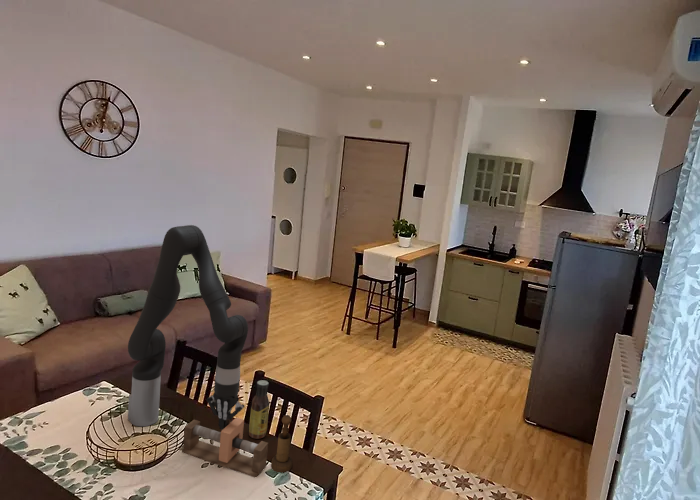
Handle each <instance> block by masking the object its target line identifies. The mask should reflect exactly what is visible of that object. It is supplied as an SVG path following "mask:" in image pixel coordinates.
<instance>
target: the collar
mask: <svg viewBox="0 0 700 500" xmlns="http://www.w3.org/2000/svg"><path fill="white" fill-rule="evenodd" d="M244 424H245V419H243V418H239V417H235V418H234V419H232V421H230V422H229V425H227V426H226V427H225V428H224V429H223V430H222V429H221V431H220V432H221V437H220V443H219V447H220V449H219V460H220V461H223V462H225V463H227V462H228V461H229V460H230V459H231V458H232V457H233V456H234V455H235V454H236V453H239V451H240V449H237V448H234V447H232V440H233V439H234V438H235V437H237V438H240V439H243V436H244V435H243V434H244V428H245V427H244Z"/></svg>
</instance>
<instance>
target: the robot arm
mask: <svg viewBox="0 0 700 500" xmlns="http://www.w3.org/2000/svg"><path fill="white" fill-rule="evenodd" d="M208 245H209V244H208V242H207V240H206V238H205V235H204V233H203V230H201V229H200V227H198V226H197V225H194V224H193V225H192V224H189V225H188V224H187V225H180V226H178V225H177V226H174V227H171V228H169V229H168V230H167V231H166V232H165V235H164V237H163V241H162V245H161V249H160V253H159V254H160V255H159V259H158V264H157V265H156V266H157V267H156V269H155V273H154V277H153V280H152V282H151V285H150V287H149V288H148V289H149V290H148V292H147V296H146V299H145V302H144V305H143V308H142V310H141V312H140V316H139V317H138V320H137V322H136V324H135V327H134V329H133V330H132V332H131V334H130V337H129V339H128V344H127V352H128V355H129V357H130V358H131V360H134V361H138V363H136V364H135V365H134V366H133V368H132V375H131V393H130V394H129V395H128V407H127V420H128V421H130V423H131V424H132V425H133V426H136V427H148V426H152V425H154V424H155V423H157V422H158V420H159V415H160V414H159V413H160V397H161V395H160V394H161V379H162V378H161V375H162V370H163V368H164V365H165V356H166V347H167V346H166V344H167V343H166V337H165V335H164V333H163V332H162V330H160V329H159V328H158V327H159V326H160V325H161V324H162V323H163V322H164V320H166V318H167V317H168V316H169V315H170V314H171V313H172V312H173V310H174V308H175V306H176V305H177V301H178V299H179V296H180V293H181V282H180V279H179V277H178V267H179V266H180V265H179V264H180V262H181V260H182V258H183V257H185V256H188V255H191V256H192V258H193V259H194V261H195V263H196V265H197V269H198V289H199V293H200V296H201V298H202V300H203V302H204V305H206V308H207V310H208V312H209V317H210V321H211V326H212V330H213V333H214V335H215V337H216V339H218V341H220V342H221V343H224V344H222V345H221V346H220V347H219V349H218V350H217V360H216V361H217V362H216V369H215V373H214V374H215V376H214V377H215V378H214V389H213V394H211V395H210V396H208V397H207V398H206V402H207V404H208V406H209V407H210V410H211V411H212V413H213V415H214V416H217V417H218V423H217V424H218V427H219V429H220V430H221V431H222V430H223V429H224V428H225V427H226V426H227V425H229V424H230V421H231V420H233V418H234V417H235V416H237V415H238V414H239V413H240V412H241V411H242V410H243V409H244V408H245V404H243V403H242V404H241V403H240V398H239V389H240V382H241V381H240V380H241V359H242V351H243V349H244V347H245V343H246V341H247V337H248V332H249V324H248V321H247V319H246V318H245V317H244V316H243V315H240V314H235V315H232V316H228V310H229V309H230V308H231V306H232V301H231V299H230V297H229V296H228V294H227V292H226V289H225V288H224V285H223V284H222V281H221V280H220V277H219V275H218V273H217V270H216V266H215V265H214V261H213V258H212V257H213V256H212V255H211V252H210V248H209V246H208ZM234 406H235V407H234ZM233 408H234V411H233V412H232V410H233Z"/></svg>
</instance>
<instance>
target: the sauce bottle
mask: <svg viewBox="0 0 700 500" xmlns="http://www.w3.org/2000/svg"><path fill="white" fill-rule="evenodd" d="M269 385H270V384H269V382H268V380H265V379H263V380H262V379H261V380H258V381H256V392H255V393H256V394H254V396H253V397H252V401H251V406H250V417H249V423H248V424H249V426H248V435H249V437H250V438H252V439H257V440H258V439H259V440H260V439H262V438H265V437H266V434H267V431H268V422H269V421H268V420H269V413H270V412H269V411H270V401H269V400H270V399H269V396H268V395H269V394H268V390H269V389H268V388H269Z"/></svg>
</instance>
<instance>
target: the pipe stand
mask: <svg viewBox="0 0 700 500" xmlns="http://www.w3.org/2000/svg"><path fill="white" fill-rule="evenodd" d="M200 437H201V438H204V439H208V440H210V441H214V442H216V443H219V444H220V437H221V431H217V430H215V429H213V428H212V429H211V428H208V427H205V426H202V425H201V421H200V420H197V419H192V421H190V422H189V423H188V424H187V425H185V426H184V434H183V448H182V450H181V453H182V454H185V455H188V456H191V457H193V458H197V459H200V460H203V461H204V462H205V461H206V462H208V463H210V464H211V463H212V464H214V465H217V466H220V467H224V468H227V469H228V470H232V471H236V472H238V473H241V474H244V475H246V476H250V477H253V478H255V477H259V476H260V475H261V473H262V472H263V471H264V470H265V468H267V464H268V463H267V459H268V450H269V442H266V441H263V440H261V441H260V442H259V443H255V442H252V441H249V440H246V439H243V438H242V439H240V438H237V437H235V438H234V439H233V440H232V447H234V448H237V449H240V450H241V451H244V452H248V453H250V454H252V455H253V456H252V457H251V456H247V455H244V454H242V453H239V452H237V453H236V454H235V455H234V456H233V457H232V458H231V459H230V460H229V461H228V462H227V463H225V462H223V461H220V460H219V449H220V446H217V445H214V444H211V443H208V442H205V441H202V440H200ZM240 450H239V451H240ZM263 469H264V470H263Z"/></svg>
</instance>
